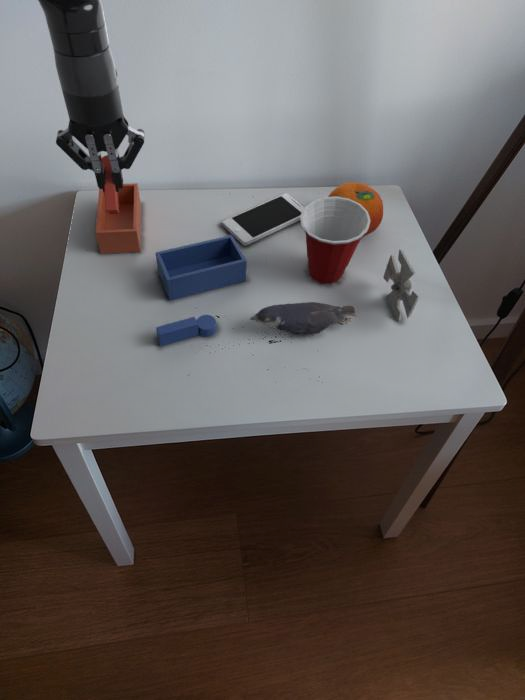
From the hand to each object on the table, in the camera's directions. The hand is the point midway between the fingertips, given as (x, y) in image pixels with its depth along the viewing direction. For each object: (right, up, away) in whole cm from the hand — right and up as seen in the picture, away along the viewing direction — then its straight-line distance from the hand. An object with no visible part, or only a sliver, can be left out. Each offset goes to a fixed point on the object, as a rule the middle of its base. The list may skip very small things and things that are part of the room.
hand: (112, 188), depth 83 cm
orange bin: (-1, -4, +9) cm, 10 cm away
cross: (+46, -19, +1) cm, 50 cm away
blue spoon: (+13, -24, -5) cm, 28 cm away
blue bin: (+14, -14, +3) cm, 20 cm away
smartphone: (+25, -2, +12) cm, 28 cm away
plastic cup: (+35, -13, +5) cm, 38 cm away
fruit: (+41, -4, +13) cm, 43 cm away
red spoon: (0, +1, +1) cm, 1 cm away
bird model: (+31, -23, -3) cm, 38 cm away
